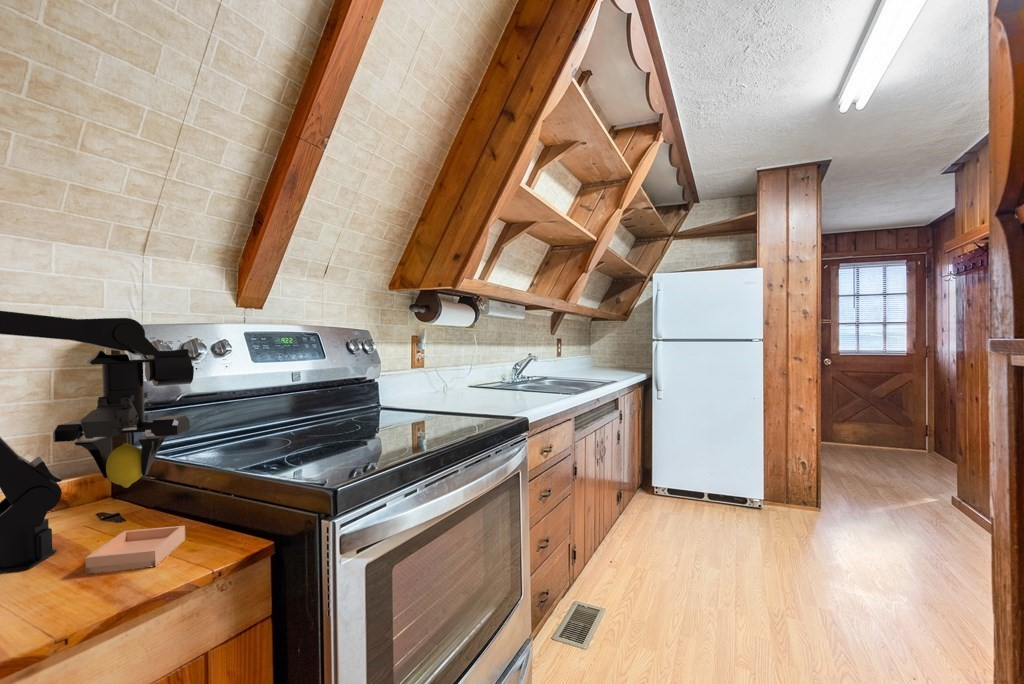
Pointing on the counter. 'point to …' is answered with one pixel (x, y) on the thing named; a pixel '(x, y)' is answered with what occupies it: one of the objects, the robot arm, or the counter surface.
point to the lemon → (124, 465)
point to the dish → (135, 549)
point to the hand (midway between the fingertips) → (126, 476)
